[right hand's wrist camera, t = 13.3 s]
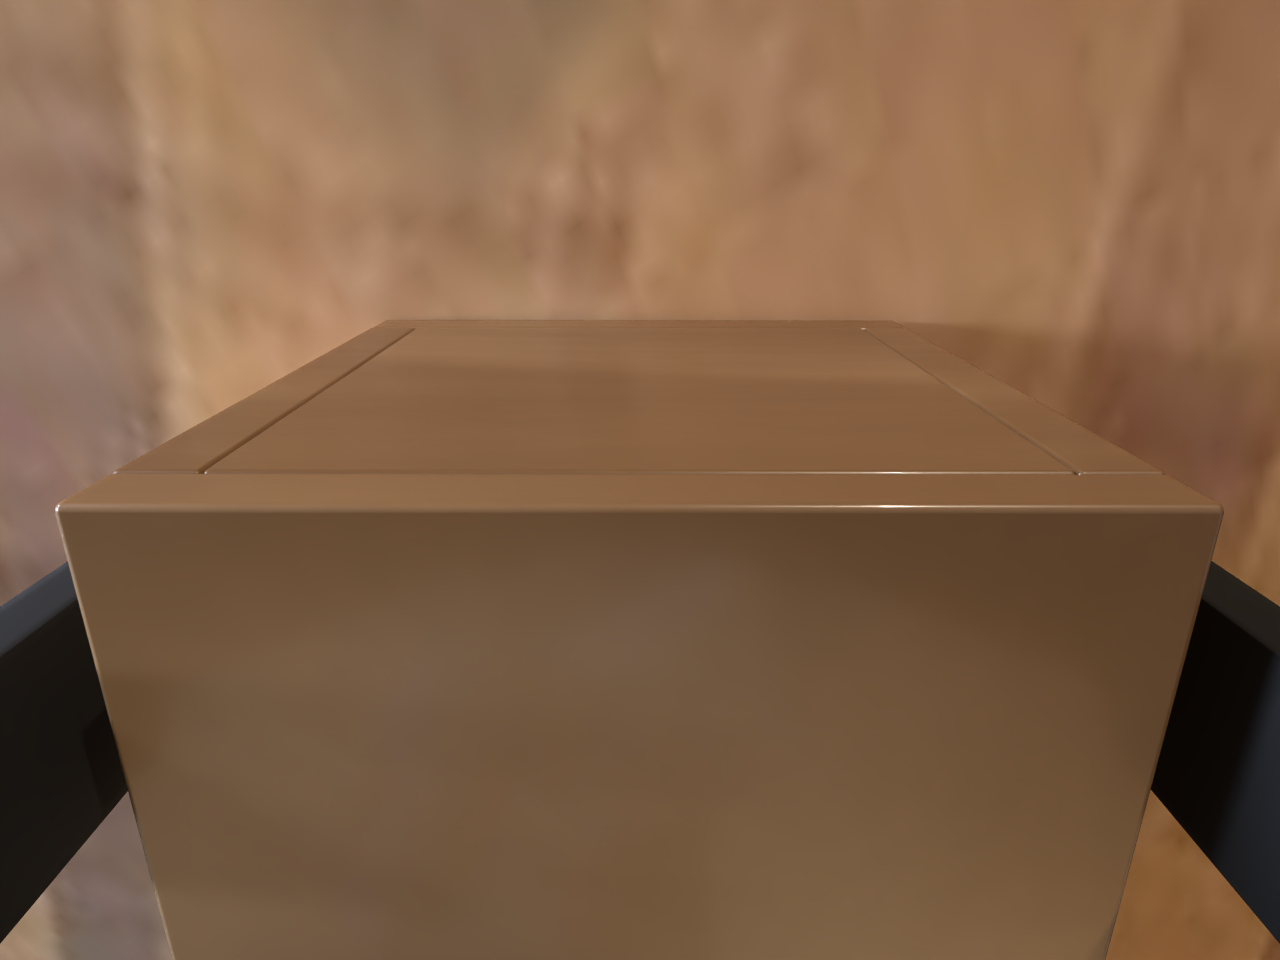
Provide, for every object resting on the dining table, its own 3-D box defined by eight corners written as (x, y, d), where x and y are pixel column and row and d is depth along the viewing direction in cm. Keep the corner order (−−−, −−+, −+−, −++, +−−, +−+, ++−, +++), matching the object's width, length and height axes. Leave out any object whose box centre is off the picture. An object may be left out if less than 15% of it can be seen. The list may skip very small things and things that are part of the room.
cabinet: (821, 1008, 24) (944, 1572, 15) (456, 1008, 24) (331, 1573, 15) (894, 320, 17) (1230, 506, 8) (383, 319, 17) (47, 505, 8)
